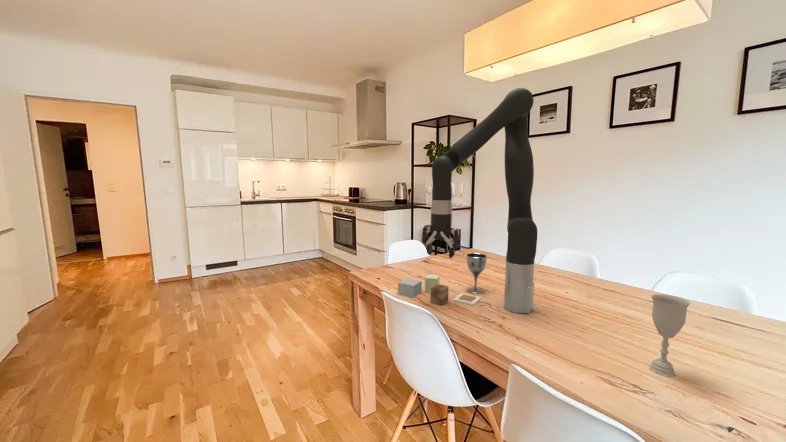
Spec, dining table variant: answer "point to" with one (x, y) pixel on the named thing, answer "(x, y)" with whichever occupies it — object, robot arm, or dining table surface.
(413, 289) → the grey base block
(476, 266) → the wine glass
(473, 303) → the tile
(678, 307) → the chalice
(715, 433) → the dining table surface
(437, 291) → the walnut block
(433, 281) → the sage block
